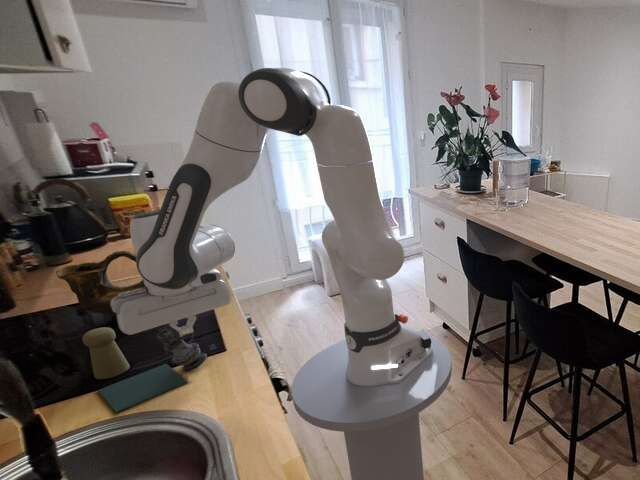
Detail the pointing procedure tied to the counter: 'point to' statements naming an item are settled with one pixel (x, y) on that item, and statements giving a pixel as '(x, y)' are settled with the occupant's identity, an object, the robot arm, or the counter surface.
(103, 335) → the cork
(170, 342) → the grey stone statuette
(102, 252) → the counter surface
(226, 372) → the counter surface
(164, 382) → the felt mat
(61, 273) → the pottery vessel
